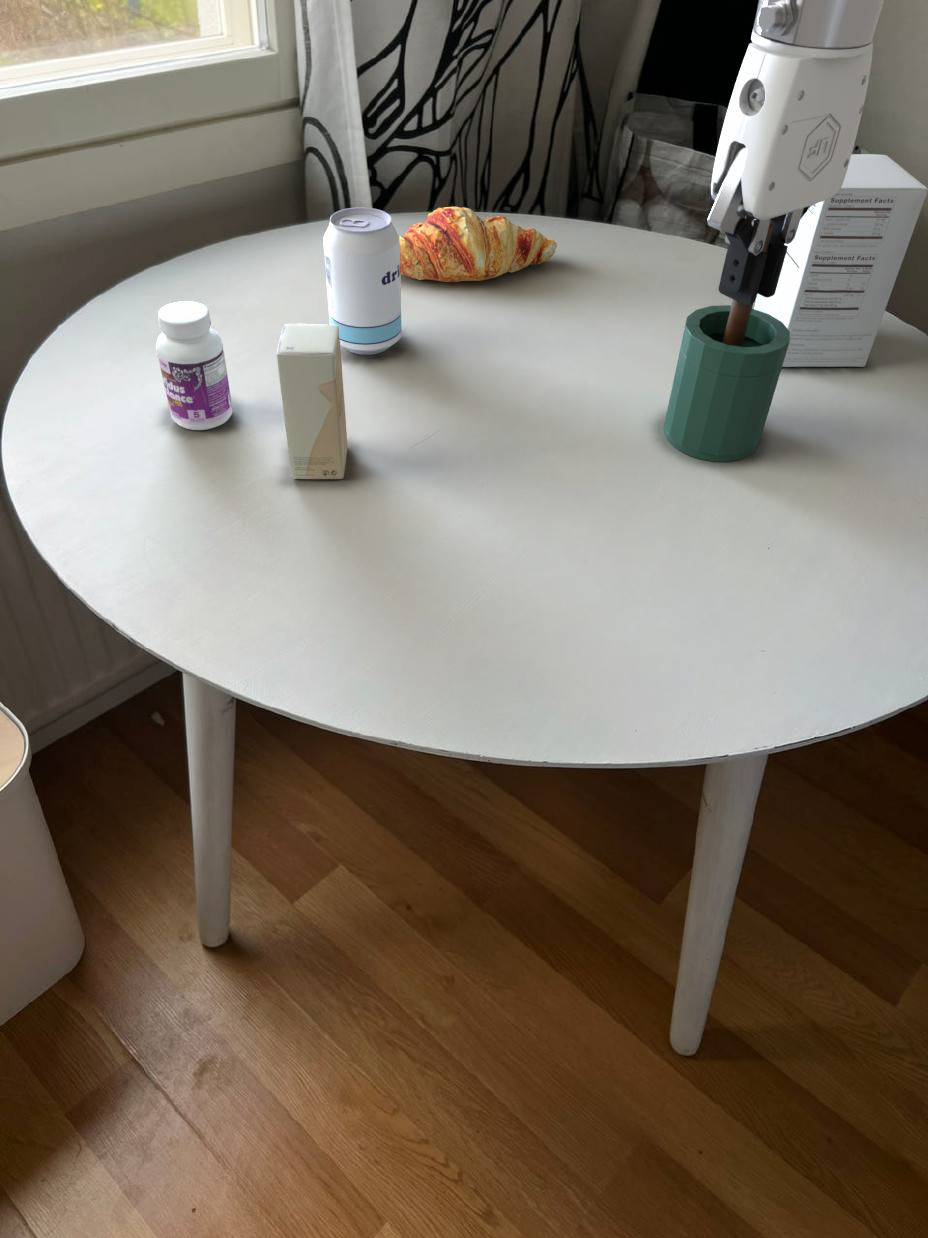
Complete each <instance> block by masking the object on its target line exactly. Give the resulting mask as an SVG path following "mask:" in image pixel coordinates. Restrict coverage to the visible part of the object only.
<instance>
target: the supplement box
mask: <svg viewBox="0 0 928 1238" xmlns="http://www.w3.org/2000/svg"><path fill="white" fill-rule="evenodd" d="M927 194H928V187H927V186H925V185H924V184H923V183H921V182H920V181H919V180H918V179H917V178H916V177H915V176H913V175H912V174H910V173H909V172H908V171H907V170H906V169H904V167H902V166H901V165H900V164H898V162H896V161H895V160H893V159H892V158H891V157H889V156H888V155H887V154H878V153H860V154H859V153H857V154H855V153H852V155H851V158H850V162H849V166H848V169H847V172H846V176H845V179H844V182H843V184H842V187H841V188H840V190H839V191H838V192H837V193H836V194H835V195H833V196H832V197H830V198H829V199H827V200H824V201H822V202H819V203H816V204H814V205H812V206H811V207H810V208H809V209H808V210H807V212H806V213H805V214H804V216H803V217H802V218H801V220H800V222H799V226H798V229H797V233H796V236H795V238H794V240H793V241H792V242H791V243H790V244H786V243H785V244H784V245H786V246H788V248H787V252H786V255H785V259H784V263H783V266H782V270H781V274H780V277H779V281H778V284H777V288H776V292H775V294H774V295H773V296H771V297H768V298H766V297H764V296H762V295H759V294H757V296H756V299H755V302H754V307H753V309H755V310H758V311H761V312H764V313H767V314H769V315H771V316H773V317H774V318H776V319H778V320H779V321H781V322H782V323H783V324H784V325H785V326H786V328H787V329H788V330H789V332H790V342H789V345H788V349H787V352H786V355H785V359H784V362H783V365H782V368H813V367H814V368H828V367H829V368H837V367H838V368H841V367H842V368H844V367H846V368H847V367H848V368H849V367H850V368H854V367H855V368H856V367H857V368H858V367H859V368H862V367H863V368H864V367H866V365H867V362H868V359H869V356H870V353H871V350H872V348H873V345H874V342H875V340H876V337H877V334H878V332H879V329H880V325H881V324H882V319H883V318H884V314H885V311H886V309H887V306H888V304H889V300H890V297H891V296H892V295H891V294H892V291H893V289H894V286H895V283H896V280H897V277H898V275H899V273H900V269H901V268H902V264H903V261H904V259H905V255H906V253H907V250H908V247H909V244H910V242H911V238H912V236H913V233H914V230H915V228H916V226H917V225H916V224H917V222H918V219H919V217H920V214H921V211H922V208H923V205H924V202H925V200H926V198H927V197H926V196H927Z"/></svg>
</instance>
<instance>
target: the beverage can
mask: <svg viewBox="0 0 928 1238" xmlns="http://www.w3.org/2000/svg"><path fill="white" fill-rule="evenodd" d="M392 222H393V219H392V216H391V215H390V214H389V213H388V212H386V211H384V210H381V209H377V208H373V207H361V206H358V207H349V208H344V209H340V210H338V211H336V212H334V213H332V214H331V215H330V217H329V225H328V226H327V229H326V231H325V233H324V235H323V239H322V240H323V241H322V242H323V253H324V265H325V266H324V268H325V277H326V278H325V280H326V293H327V305H328V318H329V324H333V325H339V335H340V347H342V348H344V350H346V351H348V352H349V353H351V354H355V355H361V356H370V355H371V356H373V355H376V354H380V353H383V352H385V351H387V350H389V349H390V347H391V346H393V345H395V344H397V342H399V340H400V339H401V337H402V285H401V284H402V282H401V273H400V238H399V236H400V234H399V233H398V231H397V230H396V228H395V226H394V224H393V223H392Z"/></svg>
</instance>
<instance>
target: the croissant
mask: <svg viewBox="0 0 928 1238" xmlns="http://www.w3.org/2000/svg"><path fill="white" fill-rule="evenodd" d="M399 238H400V274H402V275H403V276H405V277H408V278H411V279H416V280H418V281H423V280H428V281H437V282H442V283H456V284H457V283H459V282H481V281H487V280H490V279H495V278H498V277H500V276H503V274H506V273H515V272H519V271H521V270H522V269H525V268H527V267H528V266H530V265H535V266H536V265H540V264H542V263H544V262H546V261H548V260H551V258H552V257H553V256H554V255H555V253H556V250H557V247H558V244H557V242H556V241H555V239H551V238H550V239H548V238H547V237H546V236H545V235H543V234H542V233H541V232H540V231H537V230H536V228H533V227H530V228H527V229H526V228H522V227H521V226H520V225H518V224H516V223H512V222H511V220H510V219H509V218H507V217H506V216H505V215H503V214H500V215H496V216H493V217H491V216H487V217H485V219H484V220H483V219H482V218H481V217H480V216H479V215H477V214H476V212H475V211H473V210H472V209H471V208H467V207H459V206H447V207H438V208H436V209H435V210H433V211H432V212H430V213H428V214H427V218H426V219H425V221H424V222H417V223H413V224H411V225H410V226H409V228H408V229H407V230H406V232H405V233H404V235H403V236H401V235H399Z"/></svg>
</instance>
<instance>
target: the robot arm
mask: <svg viewBox="0 0 928 1238" xmlns="http://www.w3.org/2000/svg"><path fill="white" fill-rule="evenodd" d="M884 2H885V0H758V3H757V8H756V14H755V18H754V23H753V28H752V32H751V36H750V40H751V42H749V43H748V47H747V49H746V52H745V55H744V57H743V60H742V63H741V66H740V69H739V71H738V75H737V77H736V81H735V83H734V87H733V90H732V94H731V97H730V100H729V103H728V106H727V110H726V114H725V118H724V121H723V125H722V128H721V133H720V137H719V141H718V145H717V150H716V153H715V159H714V164H713V169H712V175H711V183H710V194H711V198H712V200H713V201H714V203H713V206H712V208H711V211H710V213H709V214H708V217H707V221H706V222H707V225H708V226H709V227H711V228H713V229H715V230H718V231H720V232H723V233H724V242H725V243H726V244H728V246H727V248H726V249H727V250H726V254H725V258H724V263H723V266H722V271H721V275H720V279H719V284H718V292H719V293H720V294H721V295H723V296H725V297H727V298H729V299H730V300H733V299H734V300H736V301H738V302H740V303H742V304H744V305H746V306H748V305H751V304H753V305H754V304H755V303H756V299H757V295H758V294H759V295H762V296H764V297H766V298H768V297H771V296H773V295H774V294H775V292H776V288H777V284H778V281H779V277H780V274H781V270H782V266H783V263H784V259H785V255H786V252H787V248H788V246H786V245H784V244H785V243H786V244H790V243H791V242H792V241H793V240H794V238H795V236H796V233H797V229H798V226H799V222H800V220H801V218H802V217H803V216H804V214H805V213H806V212H807V210H808V209H809V208H810V207H811V206H812V205H814V204H816V203H819V202H822V201H824V200H827V199H829V198H830V197H832V196H833V195H835V194H836V193H837V192H838V191H839V190H840V188H841V187H842V184H843V182H844V179H845V176H846V172H847V169H848V166H849V162H850V158H851V155H852V154H853V150H854V147H855V143H856V139H857V135H858V130H859V127H860V123H861V119H862V114H863V111H864V105H865V103H866V101H865V100H866V96H867V92H868V87H869V82H870V75H871V69H872V68H871V67H872V60H873V51H874V42H873V40H874V36H875V33H876V30H877V26H878V22H879V19H880V16H881V12H882V10H883V5H884ZM746 216H747V217H749V218H752V219H755V220H754V224H753V226H752V221H750V219H748V218H746ZM770 220H772V221H774V227H773V231H772V235H771V238H770V242H769V246H768V250H767V253H764V252H762V250H763V248H764V245H765V241H766V237H767V232H768V228H769V224H770Z"/></svg>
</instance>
